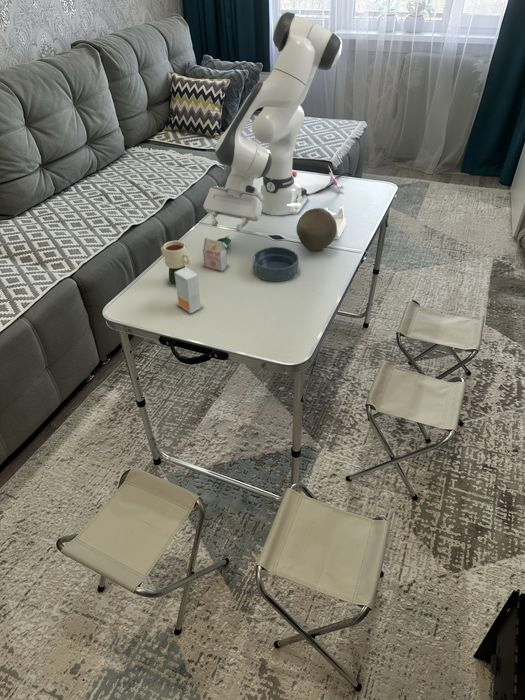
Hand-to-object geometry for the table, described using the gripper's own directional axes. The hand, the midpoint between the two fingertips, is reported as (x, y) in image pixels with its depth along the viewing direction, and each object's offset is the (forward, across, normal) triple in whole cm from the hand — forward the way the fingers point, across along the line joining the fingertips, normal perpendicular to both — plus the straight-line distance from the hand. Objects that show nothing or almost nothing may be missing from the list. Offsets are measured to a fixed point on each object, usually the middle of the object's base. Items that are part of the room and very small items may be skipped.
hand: (226, 228), depth 171 cm
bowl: (+9, +19, +7) cm, 22 cm away
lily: (-43, +15, +60) cm, 75 cm away
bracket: (-16, +27, +32) cm, 45 cm away
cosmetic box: (+31, +4, -14) cm, 34 cm away
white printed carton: (+13, -1, +3) cm, 13 cm away
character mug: (+22, -7, -6) cm, 25 cm away
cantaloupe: (-5, +26, +21) cm, 34 cm away
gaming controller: (+5, -5, +11) cm, 13 cm away
